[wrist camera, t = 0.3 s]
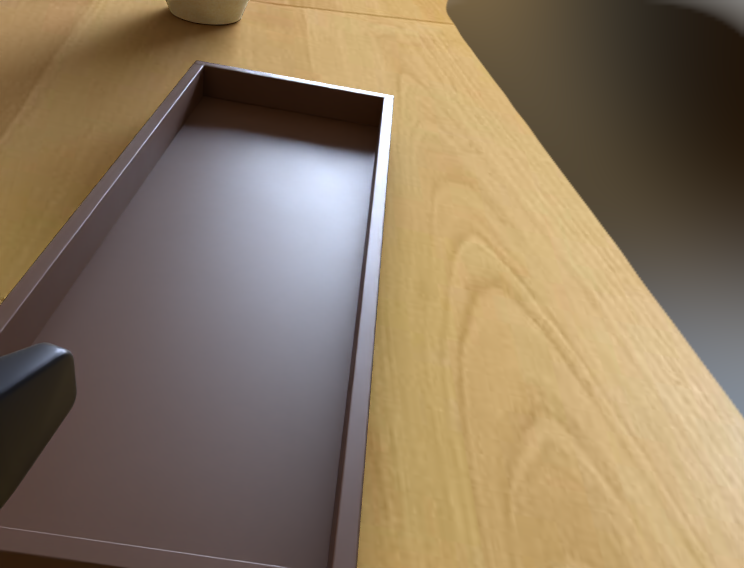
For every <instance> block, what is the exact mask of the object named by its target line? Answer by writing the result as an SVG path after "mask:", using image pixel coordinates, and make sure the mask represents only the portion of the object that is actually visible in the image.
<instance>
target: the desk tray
mask: <svg viewBox="0 0 744 568" xmlns="http://www.w3.org/2000/svg"><path fill="white" fill-rule="evenodd" d="M393 100H394V96H391V95H386V94H380V93H375V92H369V91H363V90H358V89H352V88H347V87H341V86H336V85H330V84H325V83H319V82H314V81H308V80H302V79H297V78H291V77H286V76H280V75H275V74H269V73H264V72H258V71H253V70H247V69H241V68H236V67H230V66H225V65H219V64H214V63H208V62H203V61H195V63H194V64H193V65H192V66H191V67H190V69H189V70H188V71H187V72H186V74H185V75H184V76H183V77H182V79H181V80H180V81H179V82H178V84H177V85H176V86H175V87H174V89H173V90H172V91H171V92H170V94H169V95H168V96H167V97H166V99H165V100H164V101H163V102H162V104H161V105H160V106H159V107H158V109H157V110H156V111H155V112H154V114H153V115H152V116H151V117H150V119H149V120H148V121H147V122H146V124H145V125H144V126H143V127H142V129H141V130H140V131H139V132H138V134H137V135H136V136H135V137H134V139H133V140H132V141H131V142H130V144H129V145H128V146H127V147H126V149H125V150H124V151H123V152H122V154H121V155H120V156H119V157H118V159H117V160H116V161H115V162H114V164H113V165H112V166H111V167H110V169H109V170H108V171H107V172H106V174H105V175H104V176H103V177H102V179H101V180H100V181H99V182H98V184H97V185H96V186H95V187H94V189H93V190H92V191H91V192H90V194H89V195H88V196H87V197H86V199H85V200H84V201H83V202H82V204H81V205H80V206H79V207H78V209H77V210H76V211H75V212H74V214H73V215H72V216H71V217H70V219H69V220H68V221H67V222H66V224H65V225H64V226H63V227H62V229H61V230H60V231H59V232H58V233H57V235H56V236H55V237H54V238H53V240H52V241H51V242H50V243H49V245H48V246H47V247H46V248H45V250H44V251H43V252H42V253H41V255H40V256H39V257H38V258H37V260H36V261H35V262H34V263H33V265H32V266H31V267H30V268H29V270H28V271H27V272H26V273H25V275H24V276H23V277H22V278H21V280H20V281H19V282H18V283H17V285H16V286H15V287H14V288H13V290H12V291H11V292H10V293H9V295H8V296H7V297H6V298H5V300H4V301H3V302H2V303H1V305H0V357H1V356H4V355H7V354H10V353H12V352H15V351H18V350H21V349H24V348H27V347H29V346H32V345H35V344H38V343H44V342H45V343H51V344H54V345H56V346H59V347H62V348H64V349H67V350H69V351H70V352H71V353H72V355H73V357H74V366H75V376H76V387H77V394H76V399H75V402H74V404H73V407H72V408H71V410H70V411H69V413H68V414H67V416H66V417H65V419H64V420H63V422H62V423H61V425H60V426H59V428H58V429H57V430H56V432H55V433H54V435H53V436H52V438H51V439H50V441H49V442H48V444H47V445H46V447H45V448H44V449H43V451H42V452H41V454H40V455H39V457H38V458H37V460H36V461H35V463H34V464H33V465H32V467H31V468H30V470H29V471H28V473H27V474H26V476H25V477H24V479H23V480H22V482H21V483H20V484H19V486H18V487H17V488H16V490H15V491H14V493H13V494H12V495H11V497H10V498H9V499H8V500H7V502H6V503H5V504H4V505H3V507H2V508H1V509H0V568H357V557H358V544H359V531H360V519H361V506H362V493H363V481H364V468H365V455H366V443H367V430H368V417H369V405H370V392H371V379H372V367H373V354H374V341H375V329H376V316H377V303H378V291H379V278H380V265H381V253H382V240H383V227H384V215H385V202H386V189H387V177H388V164H389V151H390V139H391V126H392V113H393Z"/></svg>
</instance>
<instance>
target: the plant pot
mask: <svg viewBox="0 0 744 568" xmlns="http://www.w3.org/2000/svg"><path fill="white" fill-rule="evenodd" d="M248 1H249V0H166V2H167V4H168V7H169V9H170V11H171V13H172V14H173V15H175V16H177V17H179V18H181V19H184V20H187V21H191V22H196V23H201V24H214V25H217V24H229V23H234V22H236V21H238V20H240V19H241V17H242V15H243V13H244V10H245V8H246V5H247V3H248Z"/></svg>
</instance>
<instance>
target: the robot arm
mask: <svg viewBox="0 0 744 568" xmlns="http://www.w3.org/2000/svg"><path fill="white" fill-rule="evenodd" d="M76 394H77V387H76V376H75V366H74V357H73V355H72V353H71V352H70V351H69V350H67V349H64V348H62V347H59V346H56V345H54V344H51V343H45V342H44V343H38V344H35V345H32V346H29V347H27V348H24V349H21V350H18V351H15V352H12V353H10V354H7V355H4V356H1V357H0V509H1V508H2V507H3V505H4V504H5V503H6V502H7V500H8V499H9V498H10V497H11V495H12V494H13V493H14V491H15V490H16V488H17V487H18V486H19V484H20V483H21V482H22V480H23V479H24V477H25V476H26V474H27V473H28V471H29V470H30V468H31V467H32V465H33V464H34V463H35V461H36V460H37V458H38V457H39V455H40V454H41V452H42V451H43V449H44V448H45V447H46V445H47V444H48V442H49V441H50V439H51V438H52V436H53V435H54V433H55V432H56V430H57V429H58V428H59V426H60V425H61V423H62V422H63V420H64V419H65V417H66V416H67V414H68V413H69V411H70V410H71V408H72V407H73V404H74V402H75V399H76Z"/></svg>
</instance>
